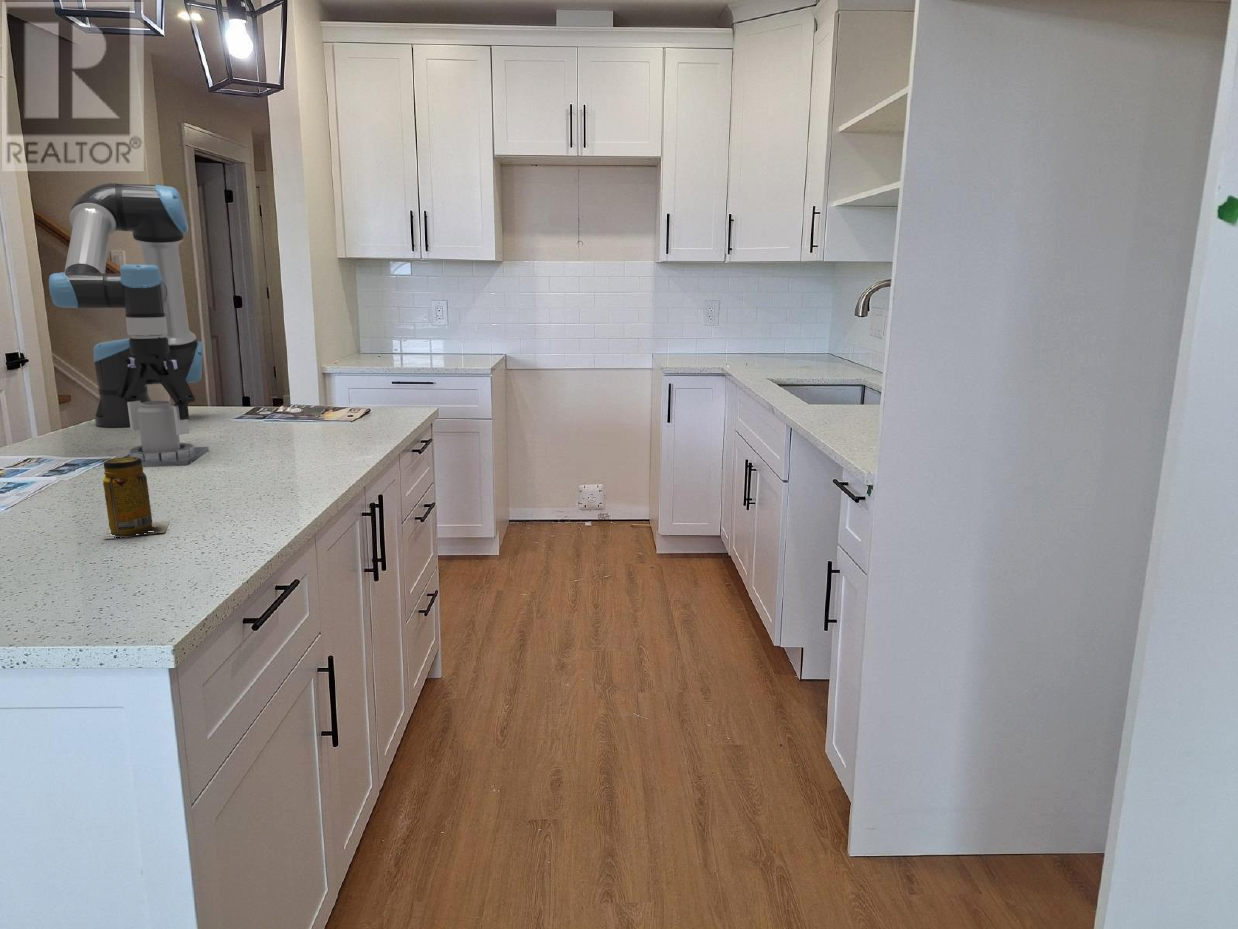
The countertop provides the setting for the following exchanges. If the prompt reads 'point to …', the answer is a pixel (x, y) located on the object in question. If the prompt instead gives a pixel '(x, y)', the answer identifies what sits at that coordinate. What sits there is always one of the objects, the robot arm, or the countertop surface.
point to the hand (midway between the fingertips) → (159, 431)
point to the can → (157, 427)
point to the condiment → (128, 499)
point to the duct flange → (169, 455)
